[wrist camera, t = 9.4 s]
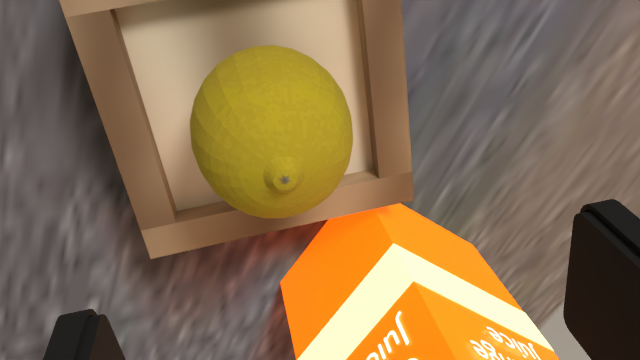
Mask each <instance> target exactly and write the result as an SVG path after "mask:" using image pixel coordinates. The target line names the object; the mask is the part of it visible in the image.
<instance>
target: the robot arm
mask: <svg viewBox="0 0 640 360" xmlns="http://www.w3.org/2000/svg"><path fill="white" fill-rule="evenodd" d="M564 320H565V323H566V325H567V328H568V329H569V331H570V332H571V334H572V335H573V336H574V337H575V339H576V340H577V341H578V343H579V344H580V345H581V346H582V348H583V349H584V350H585V352H586V353H587V354H588V356H589V357H590V358H591V360H640V219H639V218H638V217H637V216H636V215H634V214H633V213H632V212H631V211H629V210H628V209H627V208H626V207H625V206H623V205H622V204H621V203H620V202H618V201H616V200H613V199H610V200H605V201H601V202H596V203H591V204H586V205H584V206H583V207H582V208H581V211H580V213H579V214H576V215H575V217H574V221H573V229H572V239H571V248H570V257H569V266H568V275H567V284H566V293H565V302H564ZM43 360H125V357H124V355H123V353H122V350H121V348H120V346H119V343H118V341H117V339H116V337H115V334H114V332H113V330H112V327H111V325H110V323H109V320H108V318H107V317H106V316H105V315H104V314H102V315H97V314H96V312H95V311H94V310H93V309H88V310H83V311H78V312H74V313H69V314H64V315H61V316H59V317H58V319H57V321H56V324H55V327H54V330H53V333H52V335H51V338H50V341H49V344H48V347H47V350H46V353H45V355H44V358H43Z"/></svg>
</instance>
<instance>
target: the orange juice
mask: <svg viewBox="0 0 640 360" xmlns="http://www.w3.org/2000/svg"><path fill="white" fill-rule="evenodd" d="M280 284H281V289H282V294H283V299H284V303H285V308H286V313H287V318H288V323H289V327H290V332H291V337H292V342H293V347H294V351H295V356H296V360H559V359H558V357H557V356H556V354H555V353H554V352H553V351H554V350H553V349H552V347H551V346H550V345H549V343H548V342H547V341H546V339H545V338H544V337H543V336H542V334H541V333H540V332H539V330H538V329H537V328H536V326H535V325H534V324H533V322H532V321H531V320H530V318H529V317H528V316H527V314H526V313H524V312H523V311H522V309H521V308H520V307H519V305H518V304H517V303H516V301H515V300H514V299H513V298H512V296H511V295H510V294H509V292H508V291H507V290H506V288H505V287H504V286H503V284H502V283H501V282H500V280H499V279H498V278H497V276H496V275H495V274H494V272H493V271H492V270H491V268H490V267H489V266H488V264H487V263H486V262H485V260H484V259H483V258H482V256H481V255H480V254H479V253H478V251H477V250H476V249H475V247H474V246H473V245H472V244H470V243H468V242H467V241H465V240H463V239H461V238H460V237H458V236H456V235H454V234H453V233H451V232H449V231H447V230H446V229H444V228H442V227H440V226H439V225H437V224H435V223H433V222H432V221H430V220H428V219H426V218H425V217H423V216H421V215H419V214H418V213H416V212H414V211H412V210H411V209H409V208H407V207H405V206H404V205H402V204H400V203H399V204H395V205H390V206H386V207H381V208H377V209H372V210H368V211H363V212H359V213H354V214H350V215H345V216H341V217H336V218H332V219H329V220H328V221H327V222H326V223H325V225H324V226H323V227H322V229H321V230H320V231H319V233H318V234H317V235H316V236H315V238H314V239H313V240H312V242H311V243H310V244H309V246H308V247H307V248H306V249H305V251H304V252H303V253H302V255H301V256H300V257H299V259H298V260H297V261H296V263H295V264H294V265H293V266H292V268H291V269H290V270H289V272H288V273H287V274H286V276H285V277H284V278H283V279H282V281H281V282H280Z"/></svg>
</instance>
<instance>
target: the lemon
mask: <svg viewBox="0 0 640 360" xmlns="http://www.w3.org/2000/svg"><path fill="white" fill-rule="evenodd" d="M190 134H191V146H192V150H193V153H194V156H195V158H196V161H197V164H198V166H199V169H200V171H201V173H202V175H203V176H204V178H205V179H206V181H207V182H208V183H209V185H210V186H211V188H212V189H213V190H214V192H215V193H216V194H217V195H218V196H220V197H221V198H222V199H223V200H224V201H226V202H227V203H228V204H229V205H231V206H232V207H234V208H236V209H238V210H240V211H242V212H244V213H246V214H249V215H253V216H257V217H262V218H286V217H291V216H295V215H299V214H302V213H304V212H306V211H308V210H310V209H312V208H314V207H316V206H317V205H319V204H320V203H321V202H323V201H324V200H325V199H326V198H328V197H329V196H330V195H331V194H332V192H333V191H334V190H335V189H336V187H337V186H338V185H339V184H340V182H341V180H342V178H343V176H344V174H345V172H346V169H347V167H348V165H349V161H350V156H351V151H352V146H353V131H352V119H351V114H350V110H349V108H348V105H347V102H346V99H345V96H344V94H343V92H342V90H341V88H340V87H339V86H338V84H337V83H336V81H335V80H334V78H333V77H332V76H331V74H330V73H329V72H328V71H327V70H326V69H325V68H323V67H322V66H321V65H320V64H319V63H317V62H316V61H315V60H314V59H312V58H311V57H309V56H307V55H305V54H303V53H300V52H298V51H296V50H294V49H292V48H286V47H281V46H275V45H267V46H254V47H250V48H247V49H244V50H242V51H239V52H236V53H234V54H232V55H231V56H229V57H227V58H226V59H224V60H223V61H221V62H220V63H218V64H217V66H216V67H215V68H214V69H213V70H212V71H211V72H210V73H209V74H208V76H207V77H206V78H205V79H204V81H203V83H202V85H201V87H200V89H199V91H198V93H197V95H196V97H195V99H194V103H193V108H192V113H191V117H190Z"/></svg>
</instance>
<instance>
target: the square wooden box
mask: <svg viewBox="0 0 640 360" xmlns="http://www.w3.org/2000/svg"><path fill="white" fill-rule="evenodd" d="M59 1H60V4H61V7H62V10H63V13H64V16H65V18H66V21H67V24H68V27H69V30H70V32H71V35H72V38H73V41H74V44H75V47H76V49H77V52H78V55H79V58H80V61H81V63H82V66H83V69H84V72H85V75H86V78H87V80H88V83H89V86H90V89H91V92H92V95H93V97H94V100H95V103H96V106H97V109H98V111H99V114H100V117H101V120H102V123H103V126H104V128H105V131H106V134H107V137H108V140H109V142H110V145H111V148H112V151H113V154H114V157H115V159H116V162H117V165H118V168H119V171H120V173H121V176H122V179H123V182H124V185H125V188H126V190H127V193H128V196H129V199H130V202H131V204H132V207H133V210H134V213H135V216H136V219H137V221H138V224H139V227H140V230H141V233H142V236H143V238H144V241H145V244H146V247H147V250H148V252H149V255H150V258H151V259H153V258H157V257H161V256H166V255H170V254H175V253H179V252H184V251H188V250H193V249H197V248H202V247H206V246H211V245H215V244H220V243H224V242H229V241H233V240H238V239H242V238H247V237H251V236H256V235H260V234H265V233H269V232H274V231H278V230H282V229H287V228H291V227H296V226H300V225H305V224H309V223H314V222H318V221H323V220H327V219H332V218H336V217H341V216H345V215H350V214H354V213H359V212H363V211H368V210H372V209H377V208H381V207H386V206H390V205H395V204H399V203H403V202H408V201H412V200H414V194H413V179H412V163H411V147H410V131H409V115H408V100H407V84H406V68H405V52H404V36H403V20H402V5H401V0H59ZM267 45H275V46H281V47H286V48H292V49H294V50H296V51H298V52H300V53H303V54H305V55H307V56H309V57H311V58H312V59H314V60H315V61H316V62H317V63H319V64H320V65H321V66H322V67H323V68H325V69H326V70H327V71H328V72H329V73H330V74H331V76H332V77H333V78H334V80H335V81H336V83H337V84H338V86H339V87H340V88H341V90H342V92H343V94H344V96H345V99H346V102H347V105H348V108H349V110H350V114H351V119H352V131H353V146H352V151H351V156H350V161H349V165H348V167H347V169H346V172H345V174H344V176H343V178H342V180H341V182H340V184H339V185H338V186H337V187H336V189H335V190H334V191H333V192H332V194H331V195H330V196H329V197H328V198H326V199H325V200H324V201H323V202H321V203H320V204H319V205H317V206H316V207H314V208H312V209H310V210H308V211H306V212H304V213H302V214H299V215H295V216H291V217H286V218H262V217H257V216H253V215H249V214H246V213H244V212H242V211H240V210H238V209H236V208H234V207H232V206H231V205H229V204H228V203H227V202H226V201H224V200H223V199H222V198H221V197H220V196H218V195H217V194H216V193H215V192H214V190H213V189H212V188H211V186H210V185H209V183H208V182H207V181H206V179H205V178H204V176H203V175H202V173H201V171H200V169H199V166H198V164H197V161H196V158H195V156H194V153H193V150H192V146H191V134H190V117H191V113H192V108H193V103H194V99H195V97H196V95H197V93H198V91H199V89H200V87H201V85H202V83H203V81H204V79H205V78H206V77H207V76H208V74H209V73H210V72H211V71H212V70H213V69H214V68H215V67H216V66H217V64H218V63H220V62H221V61H223V60H224V59H226V58H227V57H229V56H231V55H232V54H234V53H236V52H239V51H242V50H244V49H247V48H250V47H254V46H267Z"/></svg>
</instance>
